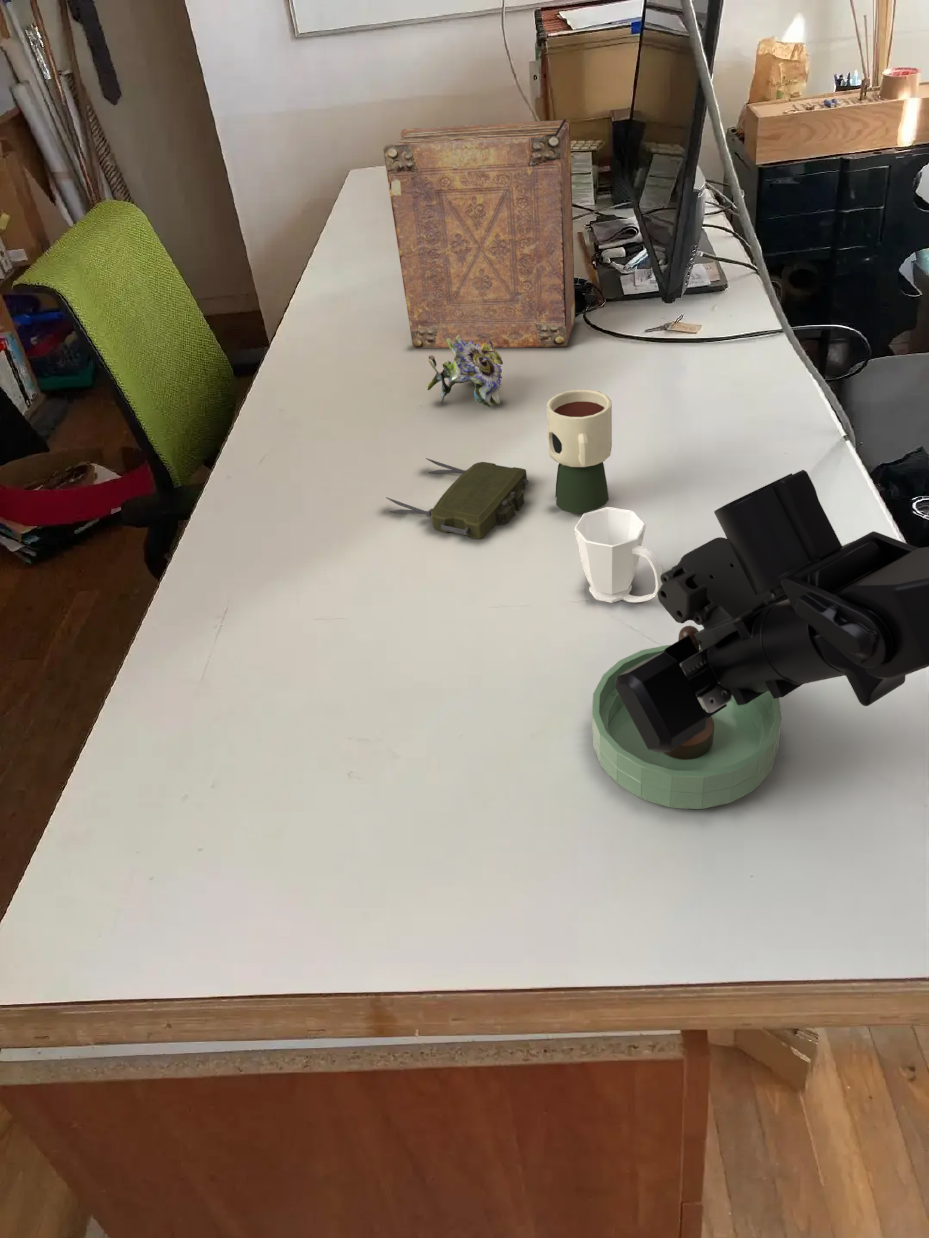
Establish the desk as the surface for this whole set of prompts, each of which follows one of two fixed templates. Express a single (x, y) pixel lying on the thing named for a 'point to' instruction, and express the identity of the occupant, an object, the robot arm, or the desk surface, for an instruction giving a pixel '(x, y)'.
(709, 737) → the knob-topped peg stand
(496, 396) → the passion flower
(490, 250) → the book
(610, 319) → the desk surface
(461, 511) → the landmine
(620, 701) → the bowl
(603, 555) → the cup
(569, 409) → the character mug
